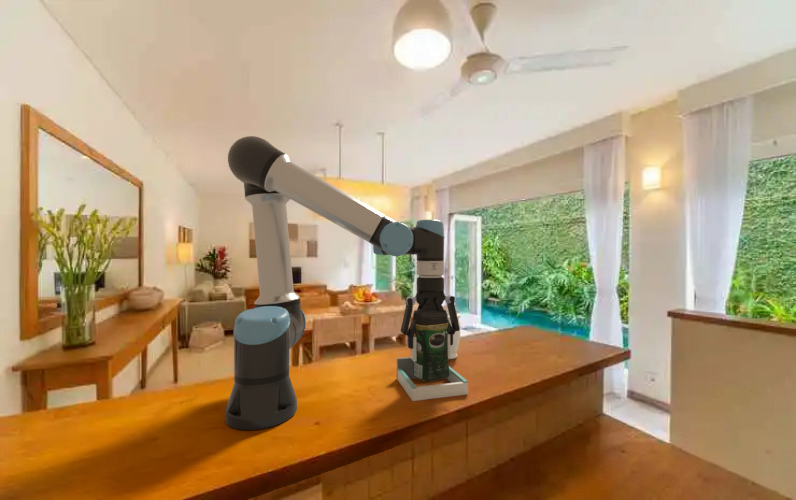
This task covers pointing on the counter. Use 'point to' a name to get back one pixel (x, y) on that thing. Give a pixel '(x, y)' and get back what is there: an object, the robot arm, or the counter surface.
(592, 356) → the counter surface
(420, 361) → the coffee jar
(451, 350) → the jar
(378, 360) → the counter surface
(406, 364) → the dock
